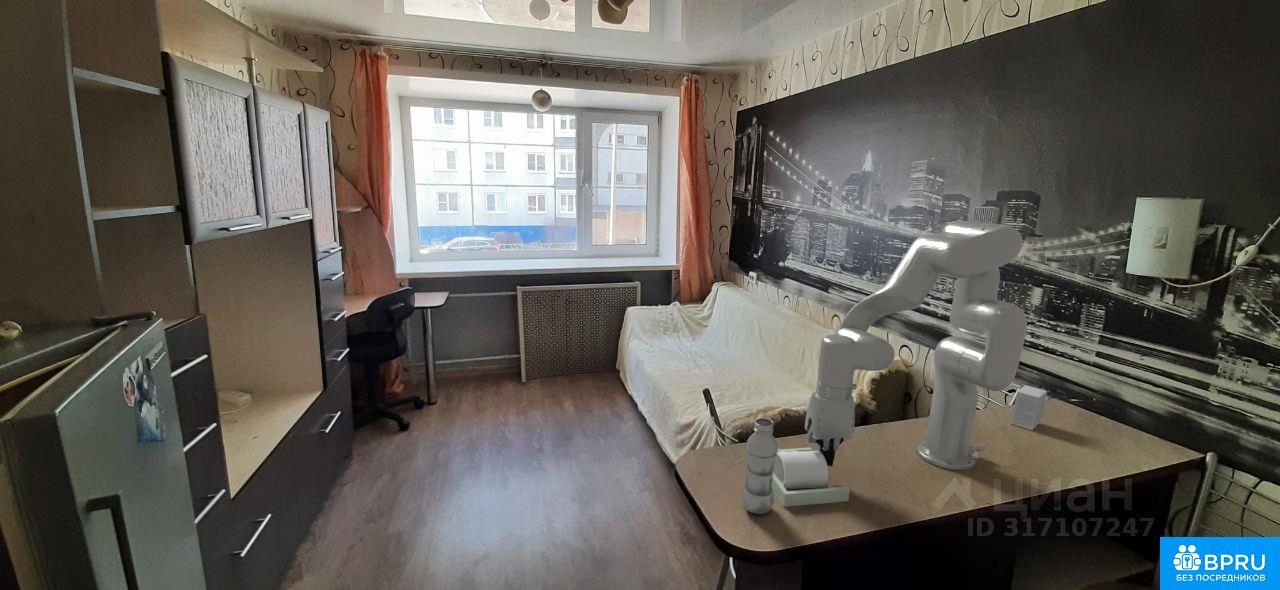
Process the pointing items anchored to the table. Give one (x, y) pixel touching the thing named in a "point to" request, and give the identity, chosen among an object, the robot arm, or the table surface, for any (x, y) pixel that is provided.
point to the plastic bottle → (760, 468)
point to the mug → (801, 469)
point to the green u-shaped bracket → (808, 492)
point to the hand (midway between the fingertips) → (826, 463)
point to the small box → (1029, 406)
